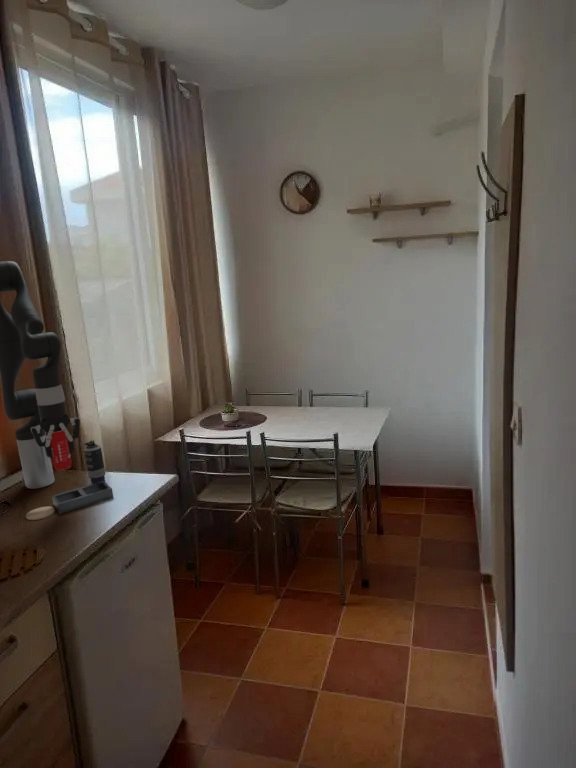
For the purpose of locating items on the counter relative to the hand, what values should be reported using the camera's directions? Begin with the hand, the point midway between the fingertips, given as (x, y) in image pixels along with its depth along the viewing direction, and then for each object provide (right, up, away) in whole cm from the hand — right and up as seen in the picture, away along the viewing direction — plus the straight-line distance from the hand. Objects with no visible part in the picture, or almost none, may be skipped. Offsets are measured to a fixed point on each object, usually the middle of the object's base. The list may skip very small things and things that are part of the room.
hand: (60, 455), depth 163 cm
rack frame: (+5, -15, +5) cm, 17 cm away
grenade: (+4, -12, +20) cm, 24 cm away
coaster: (-5, -17, -1) cm, 18 cm away
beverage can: (0, -4, +1) cm, 4 cm away
